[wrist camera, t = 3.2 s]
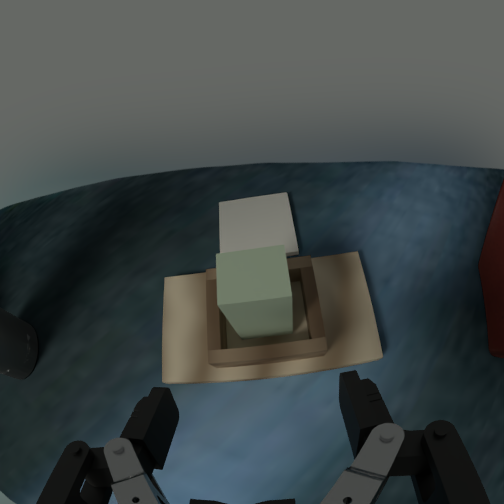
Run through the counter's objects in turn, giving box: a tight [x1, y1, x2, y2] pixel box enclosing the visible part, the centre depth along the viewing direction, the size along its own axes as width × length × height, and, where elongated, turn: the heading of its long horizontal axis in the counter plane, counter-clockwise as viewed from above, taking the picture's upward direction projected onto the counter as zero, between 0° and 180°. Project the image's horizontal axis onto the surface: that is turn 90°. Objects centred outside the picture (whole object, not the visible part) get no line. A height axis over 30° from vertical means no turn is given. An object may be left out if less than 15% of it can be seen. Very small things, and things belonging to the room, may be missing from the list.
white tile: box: [219, 192, 299, 256], centre depth 36 cm, size 9×9×1 cm
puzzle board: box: [162, 251, 383, 384], centre depth 28 cm, size 22×12×4 cm, turn 94°
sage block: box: [216, 245, 293, 340], centre depth 24 cm, size 5×4×10 cm
